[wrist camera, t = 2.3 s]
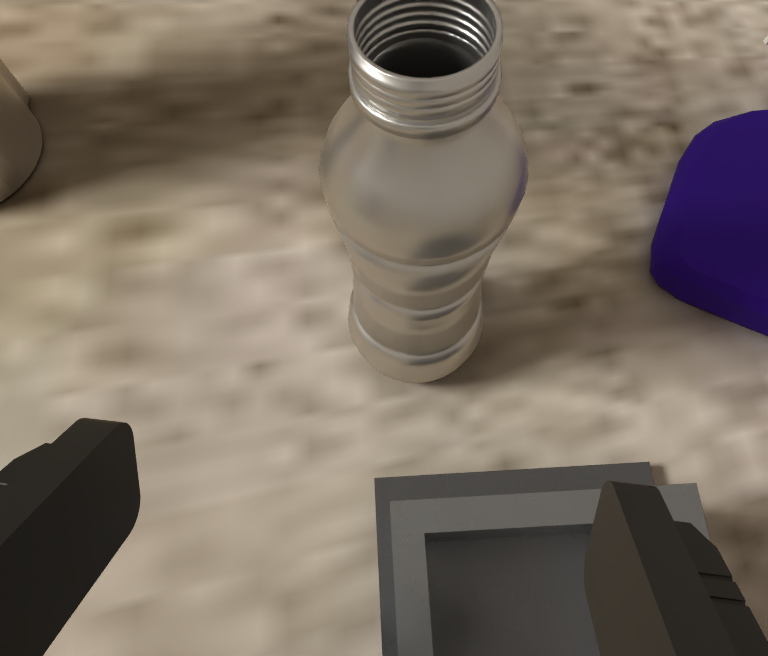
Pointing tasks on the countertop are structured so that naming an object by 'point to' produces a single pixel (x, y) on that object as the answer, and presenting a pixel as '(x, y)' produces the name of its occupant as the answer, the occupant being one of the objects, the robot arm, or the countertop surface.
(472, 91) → the plastic bottle
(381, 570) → the rack socket
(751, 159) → the spray bottle
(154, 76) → the countertop surface
